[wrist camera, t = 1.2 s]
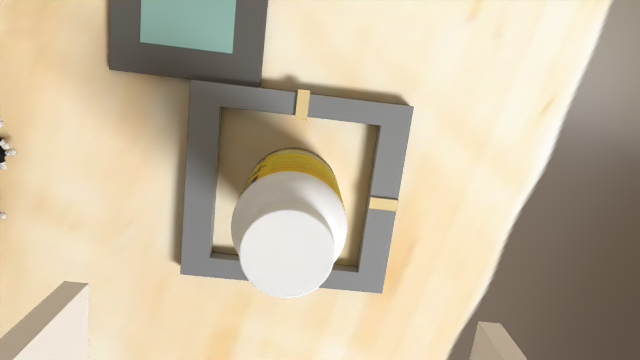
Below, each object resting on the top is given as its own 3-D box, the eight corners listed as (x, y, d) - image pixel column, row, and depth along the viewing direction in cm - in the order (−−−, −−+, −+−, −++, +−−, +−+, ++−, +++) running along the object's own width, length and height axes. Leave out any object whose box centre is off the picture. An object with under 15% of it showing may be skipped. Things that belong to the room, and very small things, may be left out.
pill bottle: (275, 129, 32) (259, 164, 21) (353, 173, 33) (379, 229, 22) (232, 206, 33) (195, 278, 22) (309, 246, 34) (312, 335, 23)
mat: (111, 69, 31) (108, 69, 30) (113, -96, 28) (110, -99, 28) (260, 87, 31) (259, 87, 31) (274, -73, 29) (274, -75, 28)
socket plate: (183, 268, 34) (179, 275, 33) (194, 75, 31) (189, 75, 30) (379, 287, 35) (382, 294, 34) (410, 102, 32) (414, 103, 31)
